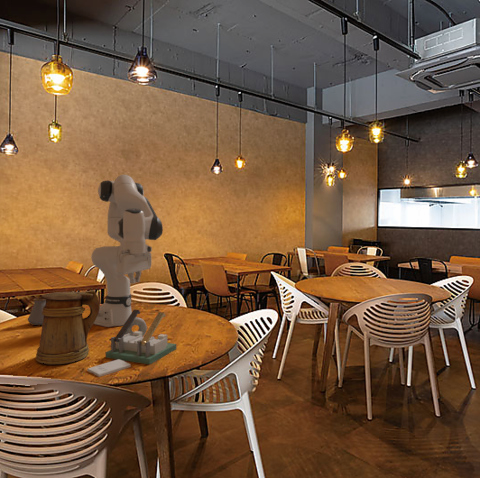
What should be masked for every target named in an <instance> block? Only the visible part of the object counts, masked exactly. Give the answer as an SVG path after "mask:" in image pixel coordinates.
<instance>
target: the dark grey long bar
mask: <svg viewBox="0 0 480 478" xmlns="http://www.w3.org/2000/svg"><path fill="white" fill-rule="evenodd" d="M140 314H141V311H140V309H133V310H132V313H131V315H130V316H129V318H128V319H127V321H126V322H125V324H124V325H122V327H121V328H120V330H119V331H118V333H117V335H116V336H114V337H115V338H114V341H115V342H119V339H120V338H123V336H124V335H125V333H126V331H127V330H128V328H129V327H130V325H131V324H132V322H133V321H134V319H135V318H136V317H138V315H140Z"/></svg>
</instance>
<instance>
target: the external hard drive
mask: <svg viewBox="0 0 480 478" xmlns="http://www.w3.org/2000/svg"><path fill="white" fill-rule="evenodd" d="M131 367H132V365H131V363H129V362H128V361H125V360H120V359H113V360H111V361H108V362H105V363H102V364H98V365H94V366H92V367H88V368H87V369H86V371H87V372H88V373H90V374H93V375H95V376H96V377H98V378H100V377H103V376H107V375H109V374H113V373H116V372H119V371H120V372H121V371H122V370H126V369H129V368H131Z"/></svg>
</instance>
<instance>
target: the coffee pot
mask: <svg viewBox="0 0 480 478" xmlns="http://www.w3.org/2000/svg"><path fill="white" fill-rule="evenodd" d="M70 292H73V291H70ZM33 302H34V303H33V307H32V309H31V310H30V311H31V312H30V313H29V315H28V318H27V321H28V323H29V324H30V325H32V324H33V325H43V317H44V315H42V312H43V307H44V306H45V304H46V299H43V298H41V297H36V298H33ZM33 325H32V326H33Z"/></svg>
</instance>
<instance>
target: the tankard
mask: <svg viewBox="0 0 480 478" xmlns="http://www.w3.org/2000/svg"><path fill="white" fill-rule="evenodd" d="M40 298H43V299H46V304H45V306H44V307H43V312H42V315H44V317H43V325H42V326H41V333H40V339H39V345H38V348H37V349H36V355H35V360H36V362H38V363H40V364H43V363H44V365H66V364H70V363H75V361H76V362H78V361H82V360H83V359H84V358H86V357H87V356H88V355H89V350H90V348H89V344H88V342H87V341H88V335H89V332H90V329H91V328H92V326H93V325H94V324H93V323H94V322H95V320H96V318H97V316H98V314H99V309H100V306H101V305H100V304H101V303H100V298H99V297H98V295H97V293H96V290H95V289H91V290H86V291H72V292H71V291H63V292H62V291H61V292H59V291H57V292H50V293H46V294H45V293H44V294H42V295H41V296H40ZM83 306H88V307H89V311H90V312H89V314H88V315H87V316H86V317H85V318H84V316H83V313H84V312H85V311H86V308H85V307H83Z"/></svg>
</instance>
